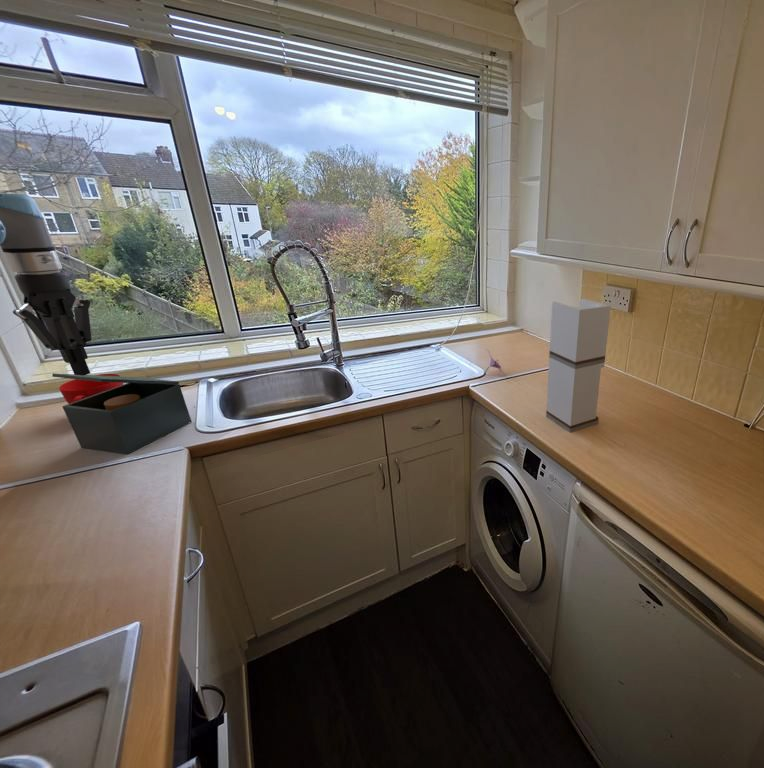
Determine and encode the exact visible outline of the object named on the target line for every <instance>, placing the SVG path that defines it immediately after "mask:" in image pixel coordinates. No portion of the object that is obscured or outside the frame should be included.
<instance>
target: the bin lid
mask: <svg viewBox="0 0 764 768" xmlns="http://www.w3.org/2000/svg"><path fill="white" fill-rule="evenodd" d="M51 377H52V378H61V379H69V380H75V379H78V380H88V381H97V382H119V383H123V384H126V383H152V384H179V385H180V381H179V380H167V379H159V378H151V377H150V378H149V377H140V376H122V375H120V376H101V375H100V374H87V375H84V376H83V375H74V373H73V374H72V373H56V372H55V373H52V374H51Z"/></svg>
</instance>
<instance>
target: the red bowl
mask: <svg viewBox="0 0 764 768" xmlns="http://www.w3.org/2000/svg"><path fill="white" fill-rule="evenodd" d="M99 375H101V376H121V375H120V374H117V373H101V374H99ZM121 385H124V383H119V382H97V381H88V380H78V379H71V380H69V381H67V382H64V383H63V384H61V385H59V387H58V388H59V389H58V390H59V391H60V394H61V395H62V397H63V398H64V400H65V402H66V403H67V404H70V403H73V402H76V401H79V400H81V399H84V398H87V397H90V396H93V395H95V394H98V393H101V392H104V391H107V390H109V389H112V388H115V387H118V386H121Z"/></svg>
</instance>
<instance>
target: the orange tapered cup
mask: <svg viewBox="0 0 764 768" xmlns="http://www.w3.org/2000/svg"><path fill="white" fill-rule="evenodd" d="M139 399H141V398H140V396H139V395H137V394H129V395H122V396H118V397H114V398H111V399H109V400H107V401H105V402H104V406H105V408H106V410H114V409H116V408H119V407H121V406H124V405H126V404H129V403H131V402H134V401H136V400H139Z"/></svg>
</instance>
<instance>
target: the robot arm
mask: <svg viewBox="0 0 764 768" xmlns="http://www.w3.org/2000/svg"><path fill="white" fill-rule="evenodd" d="M0 248H1V250H2V253H3V255H4V257H5V259H6V262H7V264H8V266H9V269H10V271H11V272H13V273H16V274H15V276H13V277H14V280H15V282H16V284H17V287H18V288H19V291H20V292H21V294H22V295H23V303H24V304H23V305H22V306H21V307H19V308H18V309H17V308H16V309H13V310H12V314H13V315H14V316H17V317H18V318H20V319H21V320H22V321H23V322H24V323H25V324H26V325H27V327H29V329H30V330H31V332H33V334H34V336H35V337H37V339H38V340H39V341H40V343H42V345H43V346H44V347H45V348H46V349H48V350H57V351H58V352H59V353H60V355H61V357H62V359H63V361H64V362H65V363H66V364H69V366H70V367H71V370H72V373H73V374H74V375H83V376H84V375H91V371H90V369H89V366H88V364H87V363H88V362H87V361H86V360H87V359H88V358H89V356H88V354H87V351H86V349H85V347H87V345H88V344H87V343H89V342H91V341H92V332H91V323H90V322H91V321H90V311H89V309H90V306H91V300H90V299H83V298H80V297H77V296H76V294H75V293H74V292H73V291H72V290H71V284H70V282H69V279H68V277H67V273H65V272H63V271H61V270H63V266H62V263H61V260H60V257H59V254H58V253H57V250H56V248H55V246H54V243H53V240H52V238H51V235H50V232H49V230H48V227H47V224H46V221H45V217H44V216H43V214H42V212H41V210H40V208H39V206H38V204H37V202H36V201H35V199H34V198H33V197H32V196H30V195H28V194H25V193H1V192H0ZM36 313H38V314H40V317H41V319H42V320H43V321H44V323H45V324H44V323H43V322H42V321H41V320H40V318H39V317H38V316H36Z"/></svg>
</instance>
